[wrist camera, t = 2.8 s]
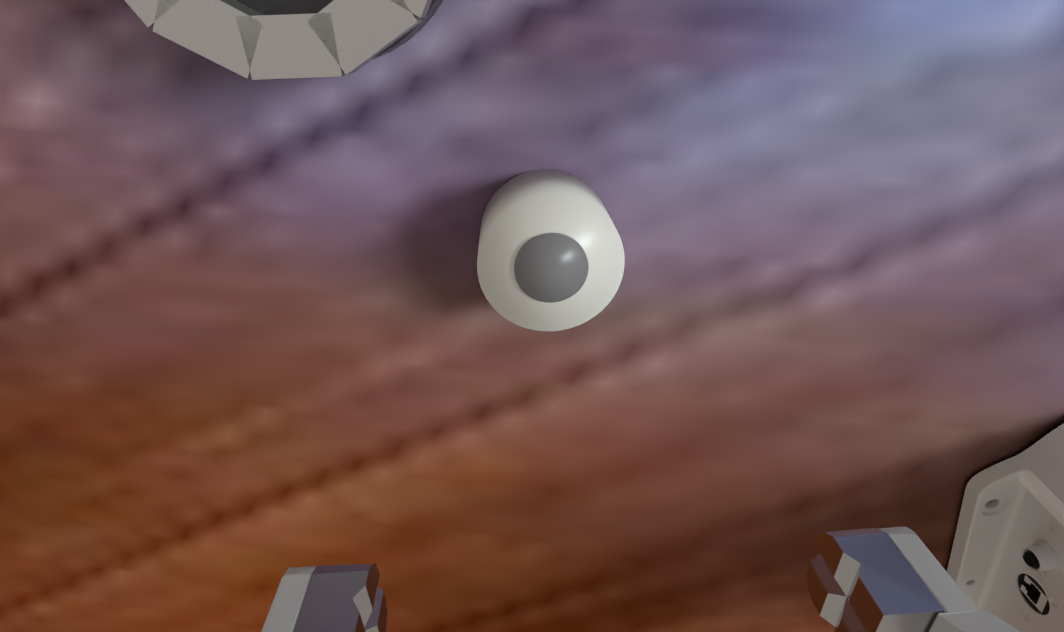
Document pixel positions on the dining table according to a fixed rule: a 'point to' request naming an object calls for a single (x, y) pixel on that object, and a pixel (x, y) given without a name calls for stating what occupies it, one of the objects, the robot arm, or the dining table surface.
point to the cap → (548, 251)
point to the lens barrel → (287, 32)
